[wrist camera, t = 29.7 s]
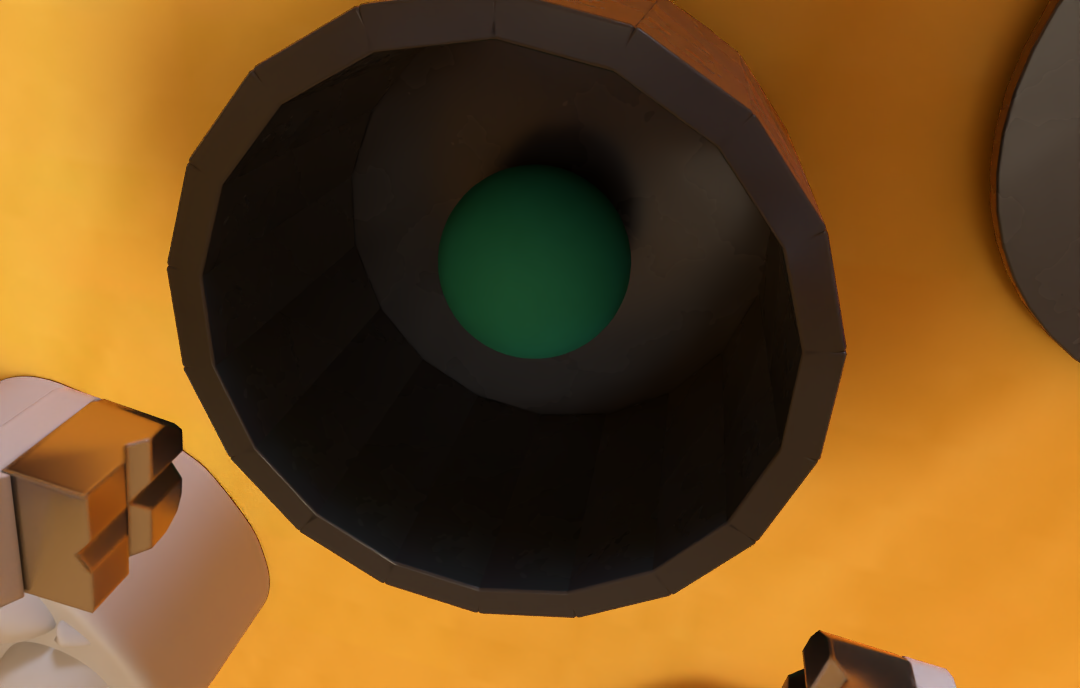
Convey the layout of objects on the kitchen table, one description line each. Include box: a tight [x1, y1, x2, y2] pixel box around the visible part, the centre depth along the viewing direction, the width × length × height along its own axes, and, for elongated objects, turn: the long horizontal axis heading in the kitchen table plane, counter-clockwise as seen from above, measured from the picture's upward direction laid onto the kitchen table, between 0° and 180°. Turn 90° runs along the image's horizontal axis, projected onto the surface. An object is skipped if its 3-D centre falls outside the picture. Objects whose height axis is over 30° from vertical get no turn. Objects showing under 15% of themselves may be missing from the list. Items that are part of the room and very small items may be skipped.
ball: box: [438, 165, 631, 359], centre depth 21 cm, size 5×5×5 cm
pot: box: [167, 0, 847, 618], centre depth 20 cm, size 14×14×8 cm
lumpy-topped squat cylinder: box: [0, 377, 269, 688], centre depth 29 cm, size 10×13×9 cm
